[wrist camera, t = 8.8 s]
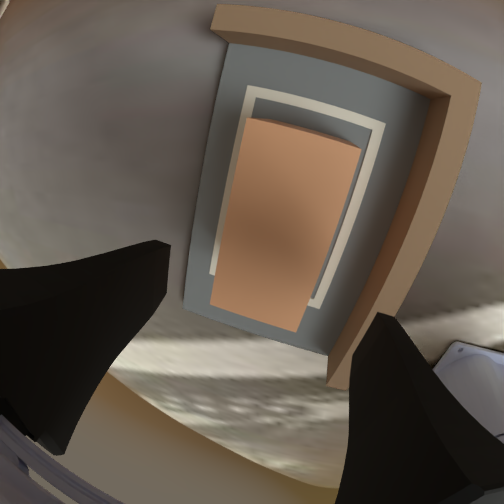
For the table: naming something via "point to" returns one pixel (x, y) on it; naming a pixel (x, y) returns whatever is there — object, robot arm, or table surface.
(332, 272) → the arena
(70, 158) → the table surface
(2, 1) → the newspaper
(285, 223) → the terracotta block
